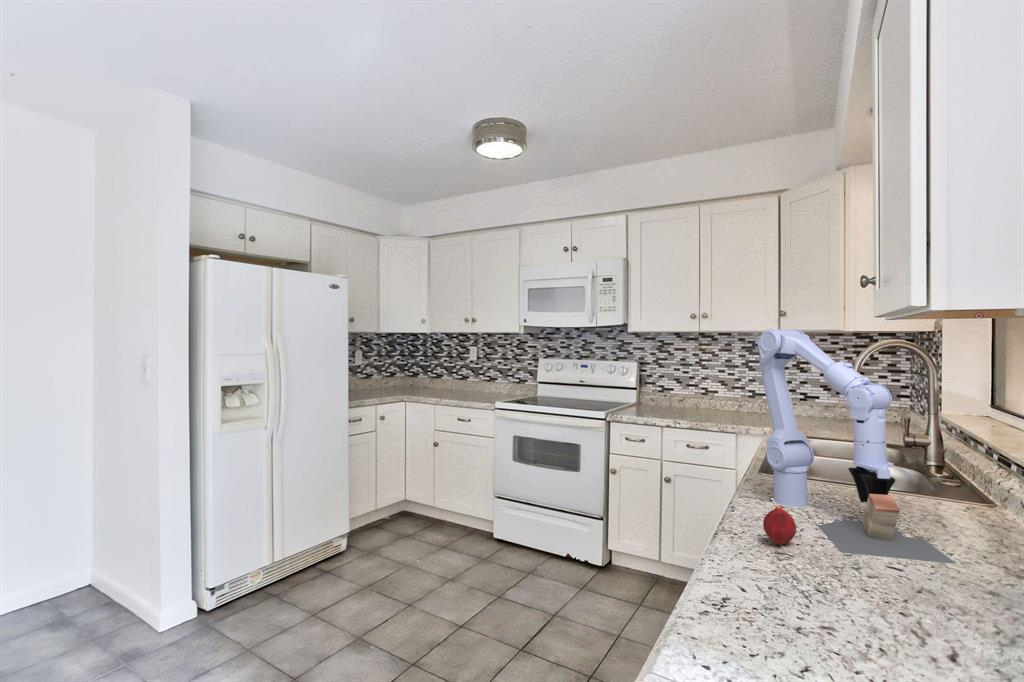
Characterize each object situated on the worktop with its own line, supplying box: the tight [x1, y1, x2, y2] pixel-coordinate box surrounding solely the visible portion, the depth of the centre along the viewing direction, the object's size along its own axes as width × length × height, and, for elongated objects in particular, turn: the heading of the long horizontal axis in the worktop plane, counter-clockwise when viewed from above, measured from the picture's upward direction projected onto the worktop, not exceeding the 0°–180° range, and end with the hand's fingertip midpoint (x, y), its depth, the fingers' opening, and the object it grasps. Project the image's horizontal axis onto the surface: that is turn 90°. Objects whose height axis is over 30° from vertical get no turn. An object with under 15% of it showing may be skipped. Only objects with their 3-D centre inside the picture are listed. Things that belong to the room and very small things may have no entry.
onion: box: [762, 504, 797, 546], centre depth 101 cm, size 6×6×8 cm
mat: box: [817, 518, 957, 565], centre depth 104 cm, size 22×18×1 cm
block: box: [861, 494, 901, 539], centre depth 104 cm, size 4×4×8 cm
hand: (871, 505), depth 109 cm, fingers open, 5 cm apart
